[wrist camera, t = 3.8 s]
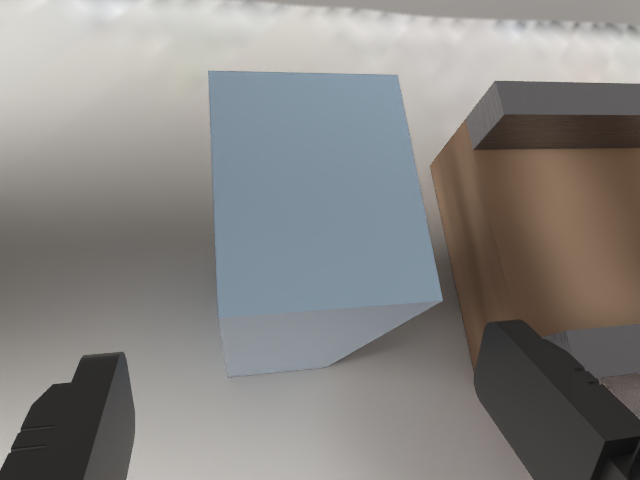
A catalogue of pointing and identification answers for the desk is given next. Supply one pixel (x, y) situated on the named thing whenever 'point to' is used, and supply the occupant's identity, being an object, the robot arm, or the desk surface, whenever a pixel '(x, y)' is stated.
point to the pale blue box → (314, 217)
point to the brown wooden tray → (548, 217)
